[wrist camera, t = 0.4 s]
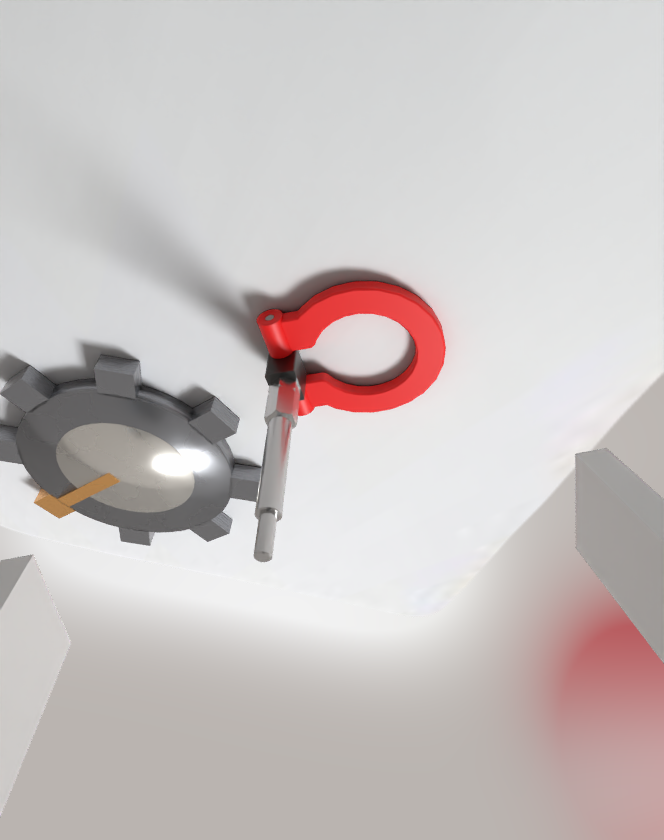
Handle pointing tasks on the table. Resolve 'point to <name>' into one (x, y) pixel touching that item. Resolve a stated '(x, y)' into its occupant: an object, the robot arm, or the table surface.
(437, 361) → the tow hook
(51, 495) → the sprocket plate
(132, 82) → the table surface
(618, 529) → the robot arm
